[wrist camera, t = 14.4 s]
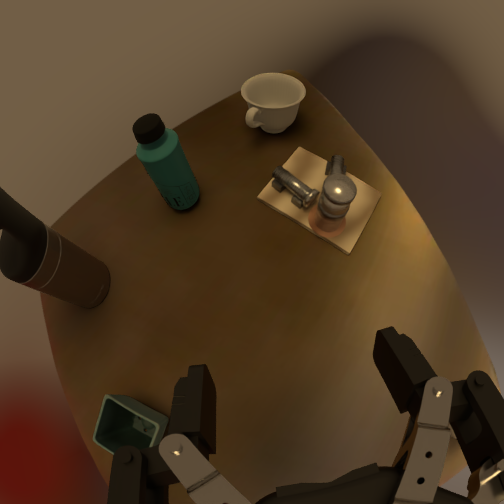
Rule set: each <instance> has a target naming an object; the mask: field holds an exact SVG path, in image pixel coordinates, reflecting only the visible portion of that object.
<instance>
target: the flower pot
mask: <svg viewBox="0 0 504 504" xmlns="http://www.w3.org/2000/svg"><path fill="white" fill-rule="evenodd" d="M139 417H141V419H139ZM167 423H168V417H167V416H165V415H163V414H161V413H159V412H157V411H155V410H153V409H151V408H150V407H148V406H146V405H144V404H142V403H140V402H139V401H137V400H135V399H133V398H131V397H129V396H125V395H109V394H106V395H105V396H104V399H103V402H102V406H101V409H100V413H99V417H98V420H97V424H96V427H95V431H94V434H93V441H94V442H95V443H96V444H98V445H99V446H101V447H102V448H104V449H105V450H107V451H108V452H110V453H111V454H113V455H114V453H115V452H116V450H117V449H119V448H120V447H122V446H126V445H130V446H134V447H136V448H137V449H138V450H140V449H145V448H149V447H153V446H156V445H158V444H160V442H161V439H162V437H163V434H164V431H165V428H166V426H167ZM145 429H147V432H146V431H145Z"/></svg>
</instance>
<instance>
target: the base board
mask: <svg viewBox="0 0 504 504" xmlns="http://www.w3.org/2000/svg"><path fill="white" fill-rule="evenodd" d="M326 164H327V161H326V160H324V159H322V158H320V157H318V156H316V155H314V154H312V153H311V152H309V151H307V150H305V149H303V148H301V147H298V149H297V150H296V151H295V152H294V153H293V155H292V156H291V157H290V158H289V159H288V160H287V162H286V163H285V164H284V165H283V166H282V167H283V168H284V169H286V170H288V171H289V172H290V173H292V174H293V175H294V176H295V177H296V178H298V179H299V180H300V181H302V182H303V183H304V184H305V185H307V186H308V187H310V188H311V189H312V190H313V189H317V190H318V191H319V192H320V194H319V196H318V198H317V199H316V201H315V202H314V203H313V204H312V205H311V206H310V207H309V208H306V207H305V206H303V207H302V208H301V209H299V208H298V207H296V206H295V205H294V204H293V203H292V202H291V199H292V196H294V195H295V194H294V193H292V192H291V191H290V190H289V189H287V188H286V189H284V190H283V191H282V192H281V193H279V192H278V191H277V190H275V189H274V188H273V187H272V181H273V180H274V179H275V178H272V180H271V181H270V182H269V183H268V184H267V186H266V187H265V188H264V189H263V190H262V192H261V193H260V194H259V195H258V197H257V200H259V201H260V202H262V203H264V204H266V205H267V206H269V207H271V208H272V209H274V210H276V211H277V212H279V213H281V214H282V215H284V216H286V217H287V218H289V219H291V220H292V221H294V222H296V223H297V224H299V225H301V226H302V227H304V228H306V229H307V230H309V231H310V232H312V233H314V234H315V235H317V236H318V237H320V238H322V239H323V240H325V241H326V242H328V243H330V244H331V245H333V246H334V247H336V248H337V249H339V250H341V251H342V252H344V253H345V254H347V255H349V254H350V252H351V250H352V248H353V247H354V245H355V243H356V241H357V240H358V238H359V236H360V234H361V232H362V231H363V229H364V227H365V225H366V223H367V221H368V220H369V218H370V216H371V214H372V212H373V210H374V208H375V206H376V204H377V202H378V200H379V198H380V196H381V194H382V193H381V192H379V191H377V190H376V189H374V188H373V187H371V186H369V185H368V184H366V183H364V182H363V181H361V180H359V179H358V178H356V177H354V176H353V175H351V174H349V173H347V172H346V176H348V177H349V178H350V179H352V180H353V182H354V183H355V185H356V188H357V194H356V196H355V198H354V200H353V201H352V202H351V204H350V208H349V210H348V212H347V214H346V216H345V217H344V218H343V220H342V222H341V224H340V226H339V228H338V229H337V230H336V231H334V232H324V231H322V230H320V229H319V228H318V227H317V226H316V224H315V220H314V218H315V214H316V211H317V204H318V201H319V197H320V195H321V192H322V186H323V183H324V180H325V179H326V178H327V177H328V175H325V169H326Z"/></svg>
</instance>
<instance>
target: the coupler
mask: <svg viewBox="0 0 504 504" xmlns="http://www.w3.org/2000/svg"><path fill="white" fill-rule="evenodd" d="M322 190H323V191H322V194H321V195H320V197H319V201H318V204H317V211H316V214H315V218H314V220H315V224H316V226H317V227H318V228H319V229H320V230H322V231H324V232H334V231H336V230H337V229H338V228H339V226H340V224H341V222H342V220H343V218H344V217H345V216H346V214H347V212H348V210H349V208H350V204H351V202H352V201H353V200H354V198H355V196H356V194H357V188H356V185H355V183H354V182H353V180H352V179H350V178H349V177H348V176H346V175H343V174H332V175H329V176H328V177H327V178H326V179H325V180H324V183H323V187H322Z"/></svg>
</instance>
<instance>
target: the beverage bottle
mask: <svg viewBox="0 0 504 504" xmlns="http://www.w3.org/2000/svg"><path fill="white" fill-rule="evenodd" d="M133 133H134V135H135V138H136V140H137V142H138V146H137V149H136V154H137V157H138V158H139V160H140V161H141V162H142V164H143V166H144V167H145V168H146V170H147V172H148V173H147V174H149V175H150V178H152V180H153V181H154V183H155V185H156V186H157V188H158V189H159V191H160V193H161V196H162V195H163V196H162V197H164V198H165V199H164V200H165V201H167V205H168V204H169V205H168V206H171V208H174V209H177V210H183V209H187V208H189V207H191V206H192V205H193V204H194V203H195V202H196V201H197V199H198V197H199V189H200V188H199V187H198V185H199V184H197V183H198V182H196V180H195V178H196V177H194V175H193V173H192V170H191V169H192V168H190V166H191V165H190V166H189V164H190V163H188V162H187V159H186V157H185V154H184V152H183V149H182V147H181V145H180V142H179V140H178V136H177V134H176V132H174V131H173V130H171V129H168V128H165V125H164V123H163V122H162V120H161V118H160V117H159V116H158V115H157V114H147V115H144V116H142V117H141V118H139V119H138V120H137V121H136V122H135V123H134V125H133Z"/></svg>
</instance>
